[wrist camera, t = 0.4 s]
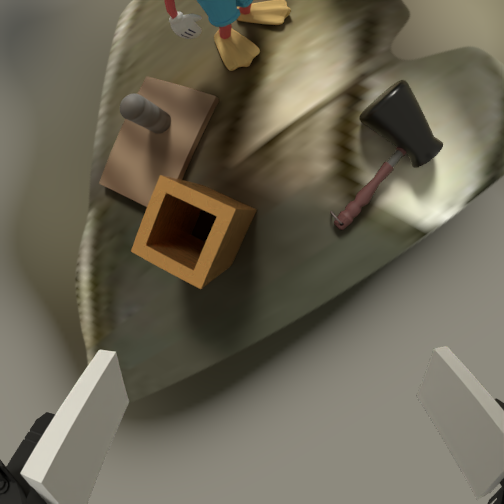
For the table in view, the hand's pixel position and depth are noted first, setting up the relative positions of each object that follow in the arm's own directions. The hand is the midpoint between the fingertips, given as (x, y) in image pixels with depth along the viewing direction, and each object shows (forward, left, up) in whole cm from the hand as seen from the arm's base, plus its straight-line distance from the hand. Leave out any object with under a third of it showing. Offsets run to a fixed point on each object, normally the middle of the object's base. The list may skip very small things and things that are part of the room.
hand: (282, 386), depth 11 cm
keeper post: (-7, -23, -26) cm, 35 cm away
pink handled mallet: (-16, +3, -27) cm, 31 cm away
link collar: (-1, -11, -26) cm, 28 cm away
